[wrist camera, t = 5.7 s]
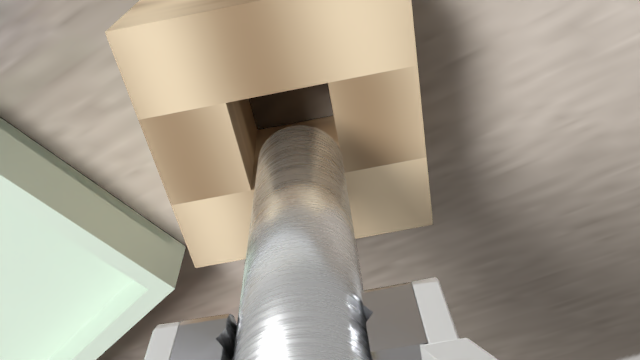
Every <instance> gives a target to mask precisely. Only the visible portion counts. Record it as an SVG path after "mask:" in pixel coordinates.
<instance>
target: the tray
mask: <svg viewBox="0 0 640 360" xmlns="http://www.w3.org/2000/svg"><path fill="white" fill-rule="evenodd" d="M185 248H186V246H184V245H183V244H181V243H180V242H178V241H177V240H176V239H174V238H173V237H171V236H170V235H168V234H167V233H165V232H164V231H163V230H161V229H160V228H158V227H157V226H155V225H154V224H153V223H151V222H150V221H148V220H147V219H145V218H144V217H142V216H141V215H140V214H138V213H137V212H135V211H134V210H132V209H131V208H130V207H128V206H127V205H125V204H124V203H122V202H121V201H120V200H118V199H117V198H115V197H114V196H112V195H111V194H109V193H108V192H107V191H105V190H104V189H102V188H101V187H99V186H98V185H97V184H95V183H94V182H92V181H91V180H89V179H88V178H86V177H85V176H84V175H82V174H81V173H79V172H78V171H76V170H75V169H74V168H72V167H71V166H69V165H68V164H66V163H65V162H64V161H62V160H61V159H59V158H58V157H56V156H55V155H53V154H52V153H51V152H49V151H48V150H46V149H45V148H43V147H42V146H41V145H39V144H38V143H36V142H35V141H33V140H32V139H30V138H29V137H28V136H26V135H25V134H23V133H22V132H20V131H19V130H18V129H16V128H15V127H13V126H12V125H10V124H9V123H8V122H6V121H5V120H3V119H2V118H0V360H96V359H97V358H98V357H99V356H101V355H102V354H103V353H104V352H105V351H106V350H107V349H108V348H109V347H111V346H112V345H113V344H114V343H115V342H116V341H117V340H118V339H119V338H121V337H122V336H123V335H124V334H125V333H126V332H127V331H128V330H130V329H131V328H132V327H133V326H134V325H135V324H136V323H137V322H138V321H140V320H141V319H142V318H143V317H144V316H145V315H146V314H147V313H148V312H150V311H151V310H152V309H153V308H154V307H155V306H156V305H157V304H158V303H160V302H161V301H162V300H163V299H164V298H165V297H166V296H167V295H168V294H170V293H171V292H172V291H173V290H174V289H175V287H176V283H177V279H178V275H179V271H180V267H181V264H182V260H183V256H184V252H185Z"/></svg>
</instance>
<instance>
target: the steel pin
mask: <svg viewBox="0 0 640 360" xmlns="http://www.w3.org/2000/svg"><path fill="white" fill-rule="evenodd" d="M361 291H364V290H363V284H362V278H361V271H360V265H359V259H358V253H357V246H356V240H355V234H354V228H353V222H352V215H351V209H350V203H349V197H348V191H347V184H346V178H345V172H344V166H343V160H342V154H341V151H340V149H339V146H338V145H337V143H336V142H335V141H334V139H333V138H332V137H331V136H330V135H328V134H327V133H326V132H324V131H322V130H320V129H318V128H315V127H312V126H306V125H295V126H289V127H286V128H283V129H281V130H279V131H277V132H275V133H274V134H273V135H271V136H270V137H269V138H268V139H267V140H266V142H265V143H264V144H263V146H262V148H261V150H260V153H259V158H258V166H257V174H256V181H255V189H254V197H253V205H252V213H251V221H250V229H249V236H248V244H247V252H246V260H245V268H244V276H243V284H242V291H241V299H240V307H239V315H238V323H237V331H236V338H235V346H234V354H233V360H372V357H371V352H370V346H369V340H368V334H367V327H366V318H365V313H364V308H363V302H362V295H361Z"/></svg>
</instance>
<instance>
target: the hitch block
mask: <svg viewBox="0 0 640 360" xmlns="http://www.w3.org/2000/svg"><path fill="white" fill-rule="evenodd" d="M105 34H106V36H107V39H108V41H109V44H110V47H111V49H112V52H113V55H114V57H115V60H116V62H117V65H118V68H119V70H120V73H121V75H122V78H123V81H124V83H125V86H126V88H127V91H128V94H129V96H130V99H131V102H132V104H133V107H134V109H135V112H136V115H137V117H138V120H139V122H140V125H141V128H142V130H143V133H144V136H145V138H146V141H147V143H148V146H149V149H150V151H151V154H152V156H153V159H154V162H155V164H156V167H157V169H158V172H159V175H160V177H161V180H162V183H163V185H164V188H165V190H166V193H167V196H168V198H169V201H170V203H171V206H172V209H173V211H174V214H175V217H176V219H177V222H178V224H179V227H180V230H181V232H182V235H183V237H184V240H185V243H186V245H187V248H188V250H189V253H190V256H191V258H192V261H193V264H194V266H195V268H199V267H205V266H210V265H215V264H221V263H226V262H232V261H237V260H243V259H246V252H247V244H248V236H249V229H250V221H251V213H252V205H253V197H254V189H255V181H256V174H257V166H258V158H259V153H260V150H261V148H262V146H263V144H264V143H265V142H266V140H267V139H268V138H269V137H270V136H271V135H273V134H274V133H275V132H277V131H279V130H281V129H283V128H286V127H289V126H295V125H306V126H312V127H315V128H318V129H320V130H322V131H324V132H326V133H327V134H328V135H330V136H331V137H332V138H333V139H334V141H335V142H336V143H337V145H338V146H339V149H340V151H341V154H342V160H343V166H344V172H345V178H346V184H347V191H348V197H349V203H350V209H351V215H352V222H353V228H354V234H355V239H358V238H363V237H368V236H374V235H379V234H385V233H390V232H396V231H401V230H407V229H412V228H418V227H423V226H429V225H433V219H432V208H431V198H430V188H429V177H428V167H427V157H426V146H425V136H424V126H423V115H422V105H421V95H420V84H419V74H418V64H417V53H416V43H415V33H414V22H413V12H412V2H411V0H140V1H138V2H137V3H136V4H135V5H134V6H133V7H132V8H131V9H130V10H129V11H128V12H126V13H125V14H124V15H123V16H122V17H121V18H120V19H119V20H118V21H117V22H115V23H114V24H113V25H112V26H111V27H110V28H109V29H108V30H107V31H106V32H105ZM325 83H327V84H328V89H329V95H330V100H331V106H332V111H333V116H329V117H324V118H319V119H314V120H308V121H303V122H298V123H293V124H288V125H283V126H277V127H272V128H267V129H262V130H257V127H256V124H255V120H254V116H253V112H252V109H251V105H250V101H249V98H253V97H259V96H264V95H269V94H274V93H279V92H284V91H289V90H294V89H299V88H305V87H310V86H315V85H320V84H325Z"/></svg>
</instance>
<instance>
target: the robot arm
mask: <svg viewBox="0 0 640 360" xmlns="http://www.w3.org/2000/svg"><path fill="white" fill-rule="evenodd" d="M361 295H362V302H363V308H364V313H365V318H366V327H367V334H368V340H369V346H370V352H371V357H372V360H498V359H497V358H495V357H494V356H493V355H491V354H490V353H488V352H487V351H485V350H484V349H483V348H481V347H480V346H478V345H477V344H476V343H474V342H473V341H471V340H470V339H468V338H461V339H459V336H458V334H457V331H456V328H455V325H454V322H453V319H452V316H451V314H450V311H449V308H448V305H447V302H446V299H445V296H444V294H443V291H442V288H441V285H440V282H439V280H438V279H437V278H436V277H433V278H427V279H422V280H417V281H412V282H411V283H410V282H408V283H403V284H397V285H392V286H386V287H381V288H375V289H369V290H364V291H361ZM236 331H237V323H236V321H235V319H234V316H233V315H231V314H224V315H218V316H211V317H204V318H197V319H191V320H184V321H182V322H174V323H167V324H160V325H157V327H156V328H155V329H154V330H153V332H152V336H151V339H150V342H149V345H148V349H147V352H146V355H145V358H144V360H233V354H234V346H235V338H236Z"/></svg>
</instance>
